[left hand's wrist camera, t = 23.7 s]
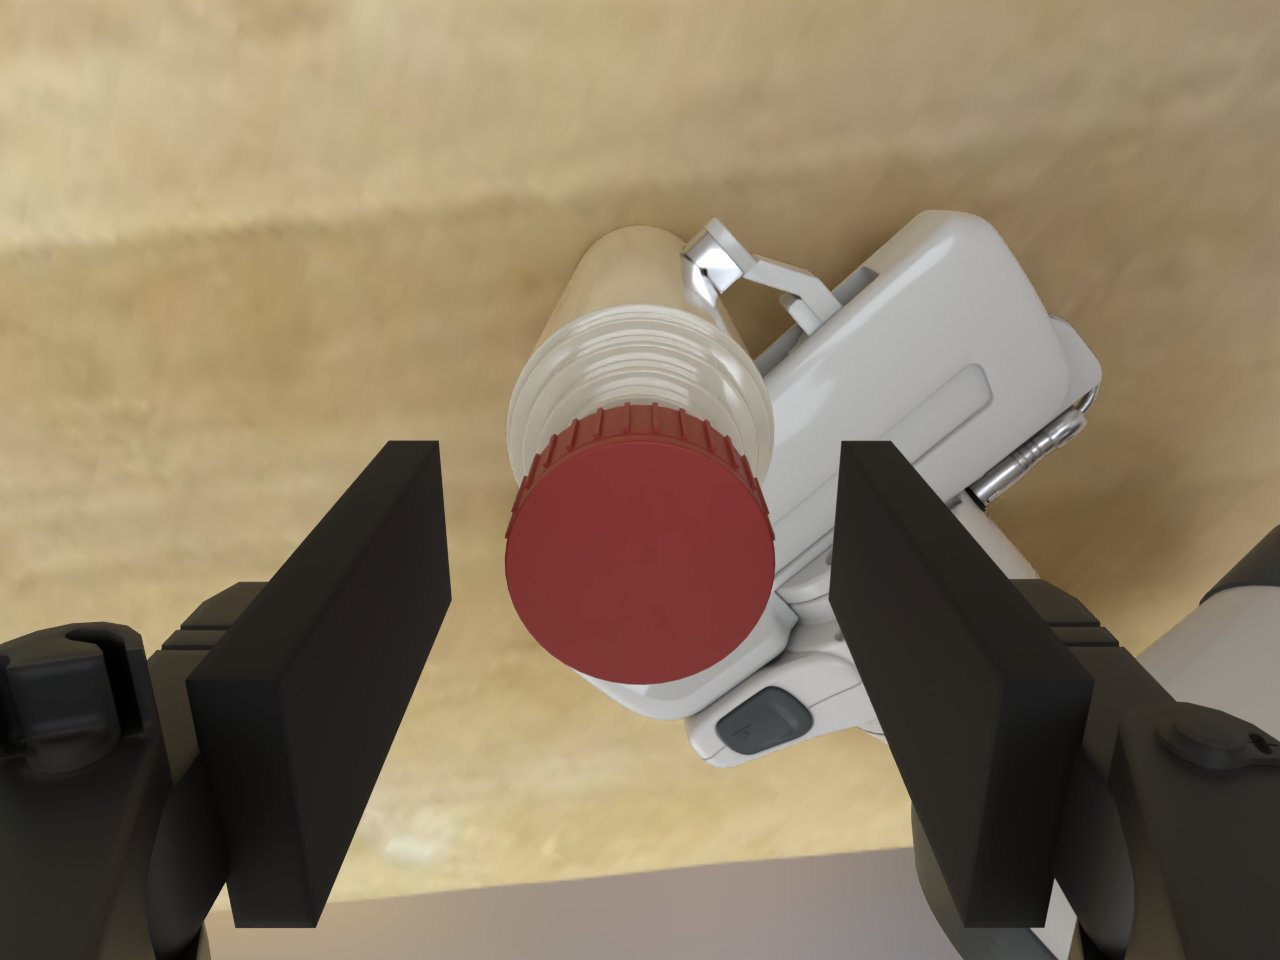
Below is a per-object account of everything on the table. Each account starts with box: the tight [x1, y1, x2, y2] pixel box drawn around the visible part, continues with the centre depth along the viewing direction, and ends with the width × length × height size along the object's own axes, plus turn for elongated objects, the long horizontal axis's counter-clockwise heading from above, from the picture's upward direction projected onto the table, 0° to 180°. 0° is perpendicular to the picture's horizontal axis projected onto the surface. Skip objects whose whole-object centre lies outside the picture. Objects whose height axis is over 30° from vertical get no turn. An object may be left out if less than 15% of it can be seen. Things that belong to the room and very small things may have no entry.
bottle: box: [506, 225, 774, 488], centre depth 24 cm, size 5×5×24 cm
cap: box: [505, 402, 775, 685], centre depth 13 cm, size 4×4×2 cm
